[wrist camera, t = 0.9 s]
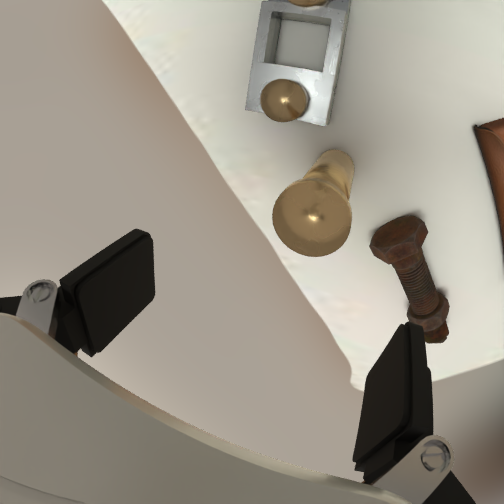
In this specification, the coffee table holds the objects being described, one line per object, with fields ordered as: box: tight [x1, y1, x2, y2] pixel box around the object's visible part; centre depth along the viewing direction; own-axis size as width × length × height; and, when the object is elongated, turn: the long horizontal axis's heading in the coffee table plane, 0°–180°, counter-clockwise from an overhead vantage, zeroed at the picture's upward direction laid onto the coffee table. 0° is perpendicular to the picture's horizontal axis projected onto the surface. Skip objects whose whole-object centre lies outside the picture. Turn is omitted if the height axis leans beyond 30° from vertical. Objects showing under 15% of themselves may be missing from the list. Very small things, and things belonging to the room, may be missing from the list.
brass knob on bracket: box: [245, 0, 351, 126], centre depth 20 cm, size 14×7×4 cm, turn 172°
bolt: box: [369, 216, 450, 343], centre depth 27 cm, size 6×5×15 cm
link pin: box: [272, 149, 354, 257], centre depth 21 cm, size 4×4×13 cm
